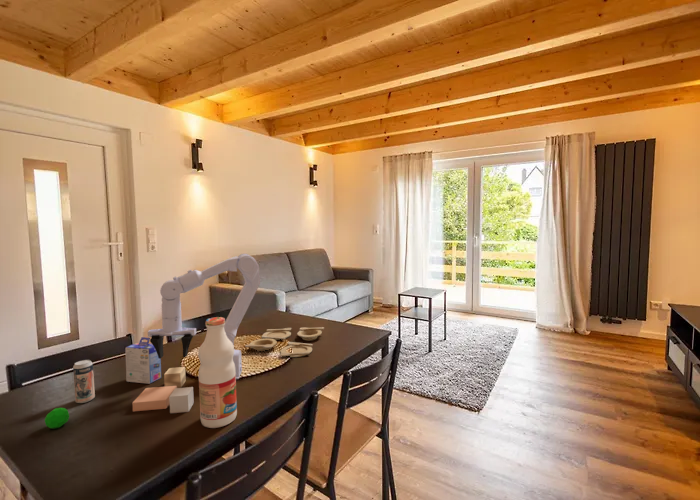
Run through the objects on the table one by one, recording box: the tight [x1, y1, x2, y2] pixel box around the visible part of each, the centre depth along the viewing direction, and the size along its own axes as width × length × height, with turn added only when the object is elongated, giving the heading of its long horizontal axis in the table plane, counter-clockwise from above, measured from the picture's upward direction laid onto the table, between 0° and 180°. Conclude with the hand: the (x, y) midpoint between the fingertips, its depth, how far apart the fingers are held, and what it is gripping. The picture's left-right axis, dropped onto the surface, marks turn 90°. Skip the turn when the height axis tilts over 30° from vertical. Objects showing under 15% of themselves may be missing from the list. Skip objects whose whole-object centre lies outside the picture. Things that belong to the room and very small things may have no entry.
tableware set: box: [244, 326, 325, 358], centre depth 153 cm, size 35×29×4 cm
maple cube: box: [163, 366, 187, 388], centre depth 114 cm, size 5×5×5 cm
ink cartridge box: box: [125, 336, 162, 385], centre depth 118 cm, size 10×6×14 cm, turn 78°
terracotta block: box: [132, 385, 177, 412], centre depth 103 cm, size 9×9×3 cm
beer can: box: [72, 359, 96, 404], centre depth 104 cm, size 5×5×12 cm
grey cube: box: [169, 386, 195, 414], centre depth 99 cm, size 5×5×5 cm
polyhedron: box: [44, 407, 70, 430], centre depth 91 cm, size 5×5×5 cm
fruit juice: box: [197, 316, 238, 429], centre depth 93 cm, size 9×9×28 cm
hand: (173, 356), depth 113 cm, fingers open, 7 cm apart
